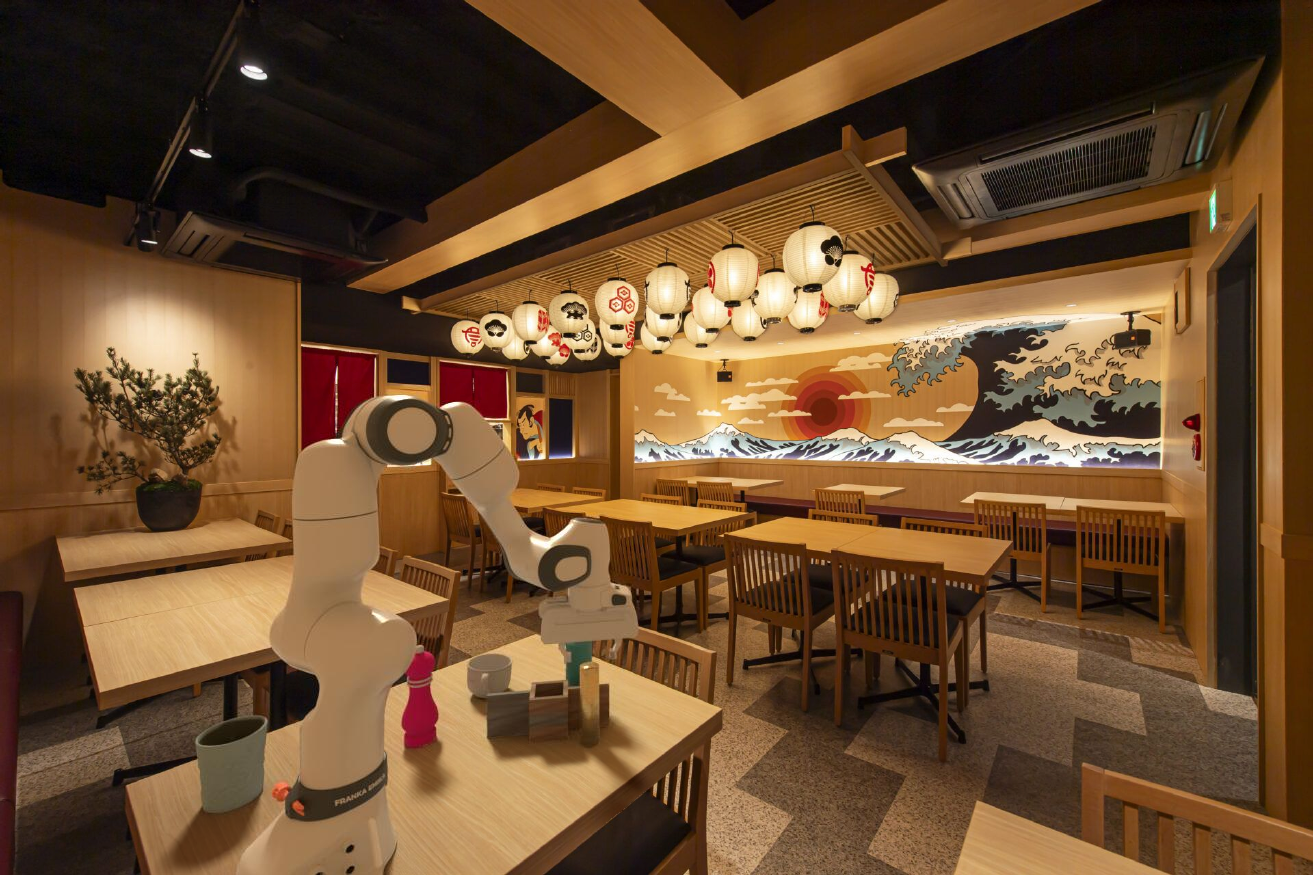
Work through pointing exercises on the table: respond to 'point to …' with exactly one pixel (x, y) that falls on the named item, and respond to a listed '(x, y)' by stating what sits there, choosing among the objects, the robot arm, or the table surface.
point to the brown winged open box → (541, 711)
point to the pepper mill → (420, 701)
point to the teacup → (488, 674)
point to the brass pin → (589, 704)
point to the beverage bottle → (577, 660)
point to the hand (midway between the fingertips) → (590, 660)
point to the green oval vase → (231, 763)
